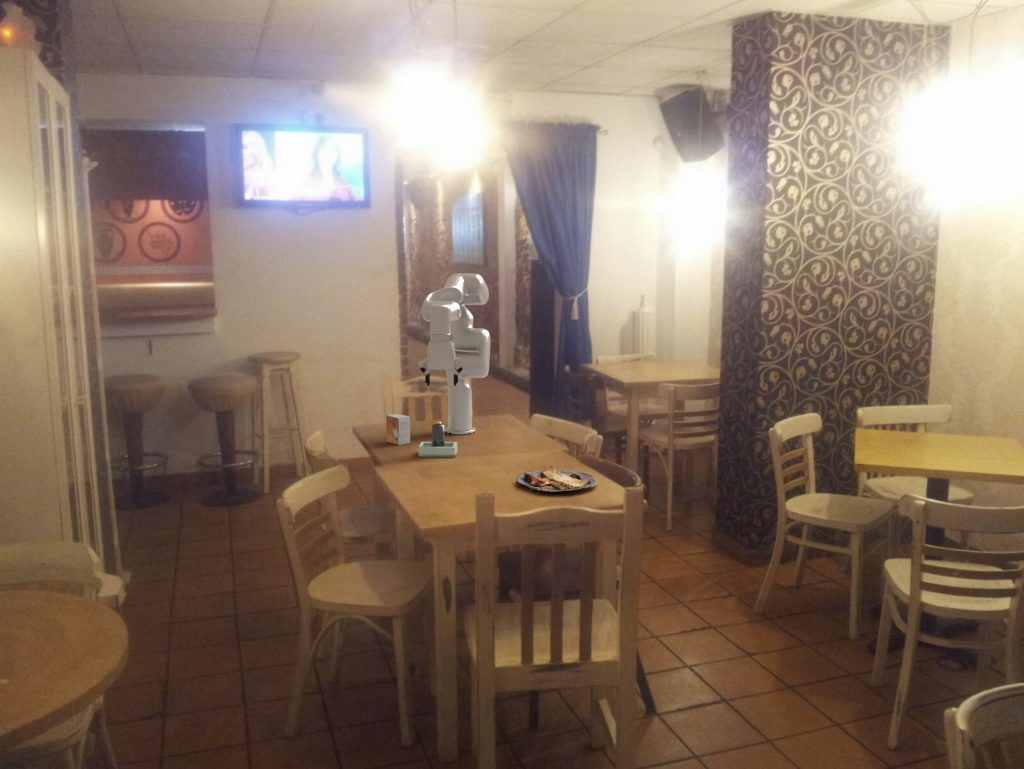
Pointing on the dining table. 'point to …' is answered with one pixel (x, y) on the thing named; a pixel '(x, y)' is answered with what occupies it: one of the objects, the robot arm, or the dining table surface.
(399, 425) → the small box
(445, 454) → the trough
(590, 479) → the food plate
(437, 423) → the cylinder
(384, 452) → the dining table surface
